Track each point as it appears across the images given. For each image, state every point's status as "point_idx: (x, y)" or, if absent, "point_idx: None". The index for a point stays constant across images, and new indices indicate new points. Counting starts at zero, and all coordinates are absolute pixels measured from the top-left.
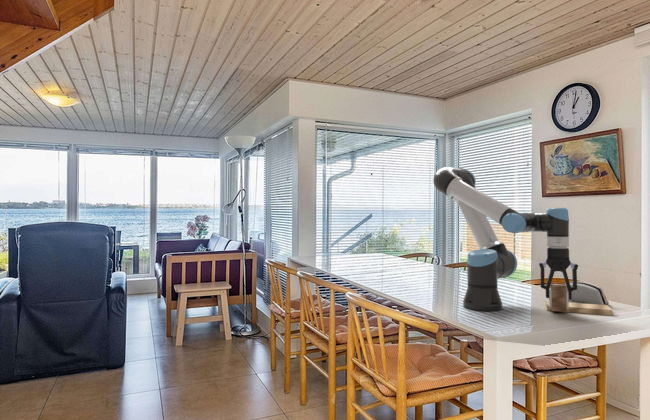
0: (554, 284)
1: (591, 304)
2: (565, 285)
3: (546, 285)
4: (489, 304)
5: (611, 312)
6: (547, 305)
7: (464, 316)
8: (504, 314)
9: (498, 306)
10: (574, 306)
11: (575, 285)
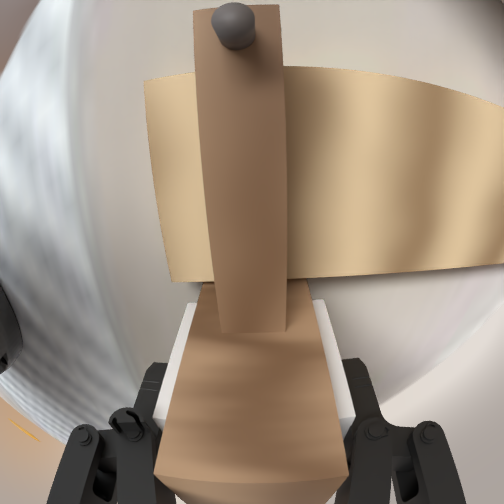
0: (209, 497)
1: (499, 122)
2: (322, 500)
3: (125, 460)
4: (3, 371)
5: None
6: (175, 281)
7: (24, 403)
8: (62, 382)
9: (14, 351)
10: (383, 241)
11: (410, 486)
